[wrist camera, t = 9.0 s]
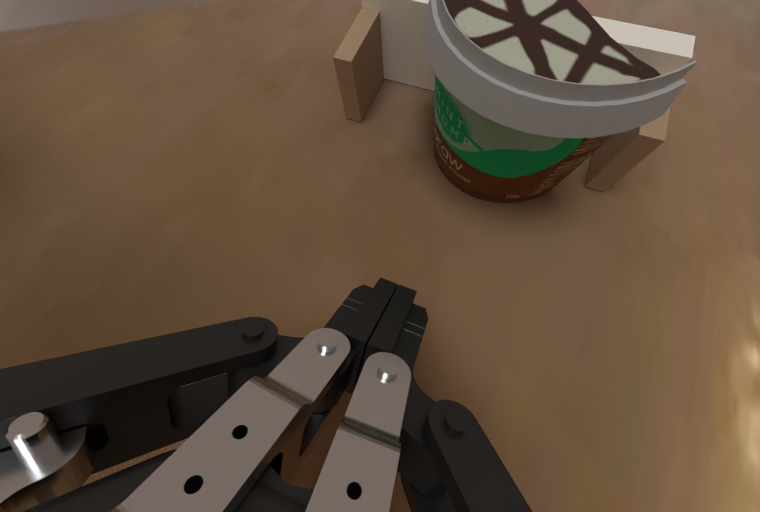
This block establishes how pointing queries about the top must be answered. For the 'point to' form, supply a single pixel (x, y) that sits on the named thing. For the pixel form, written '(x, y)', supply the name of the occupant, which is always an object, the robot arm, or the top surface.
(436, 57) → the food container
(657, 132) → the back stop bracket
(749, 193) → the top surface
